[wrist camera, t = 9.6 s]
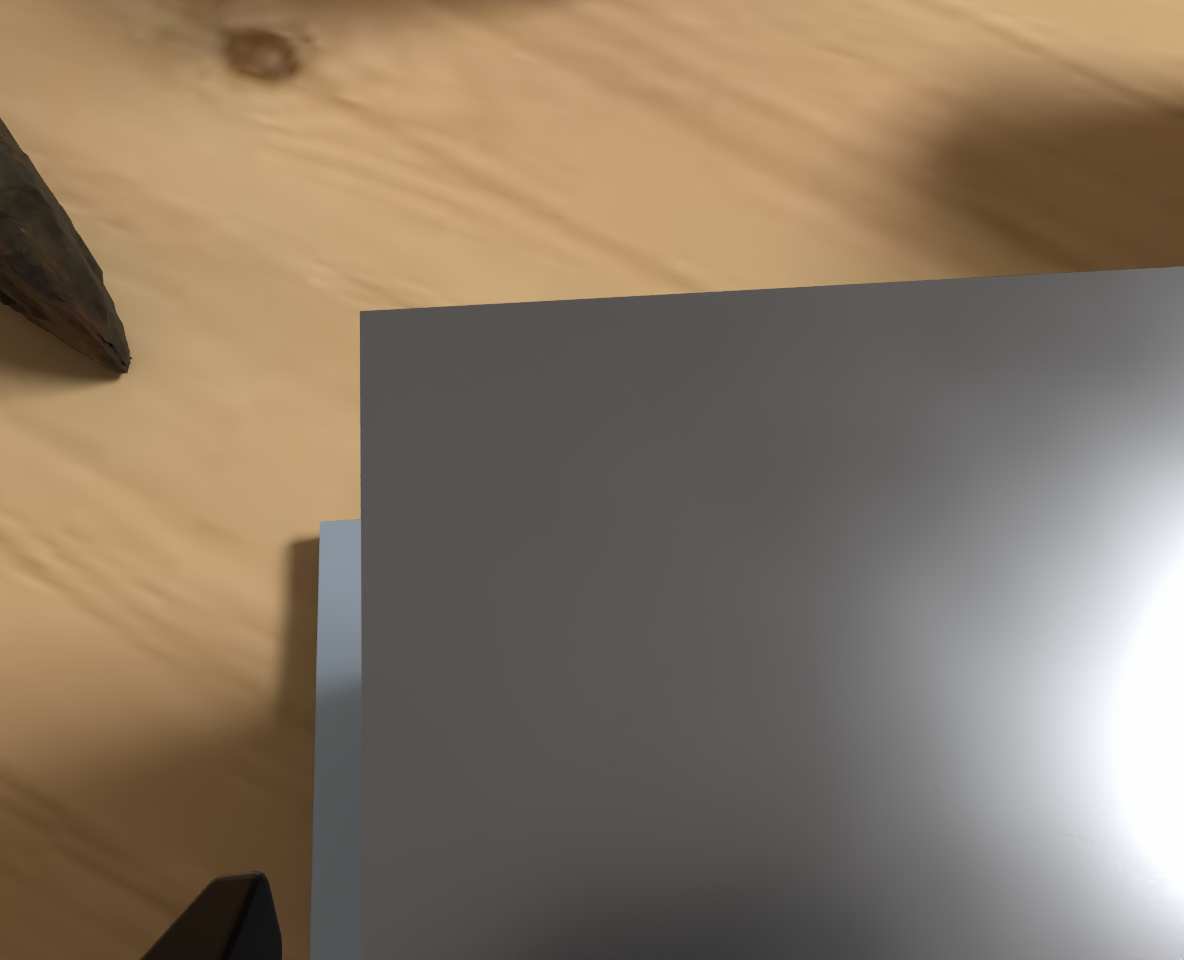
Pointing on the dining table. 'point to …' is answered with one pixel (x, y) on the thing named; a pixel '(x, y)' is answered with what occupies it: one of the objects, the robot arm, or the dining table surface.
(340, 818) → the base block
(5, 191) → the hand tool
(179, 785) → the dining table surface
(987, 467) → the grey block
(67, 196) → the dining table surface
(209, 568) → the dining table surface
